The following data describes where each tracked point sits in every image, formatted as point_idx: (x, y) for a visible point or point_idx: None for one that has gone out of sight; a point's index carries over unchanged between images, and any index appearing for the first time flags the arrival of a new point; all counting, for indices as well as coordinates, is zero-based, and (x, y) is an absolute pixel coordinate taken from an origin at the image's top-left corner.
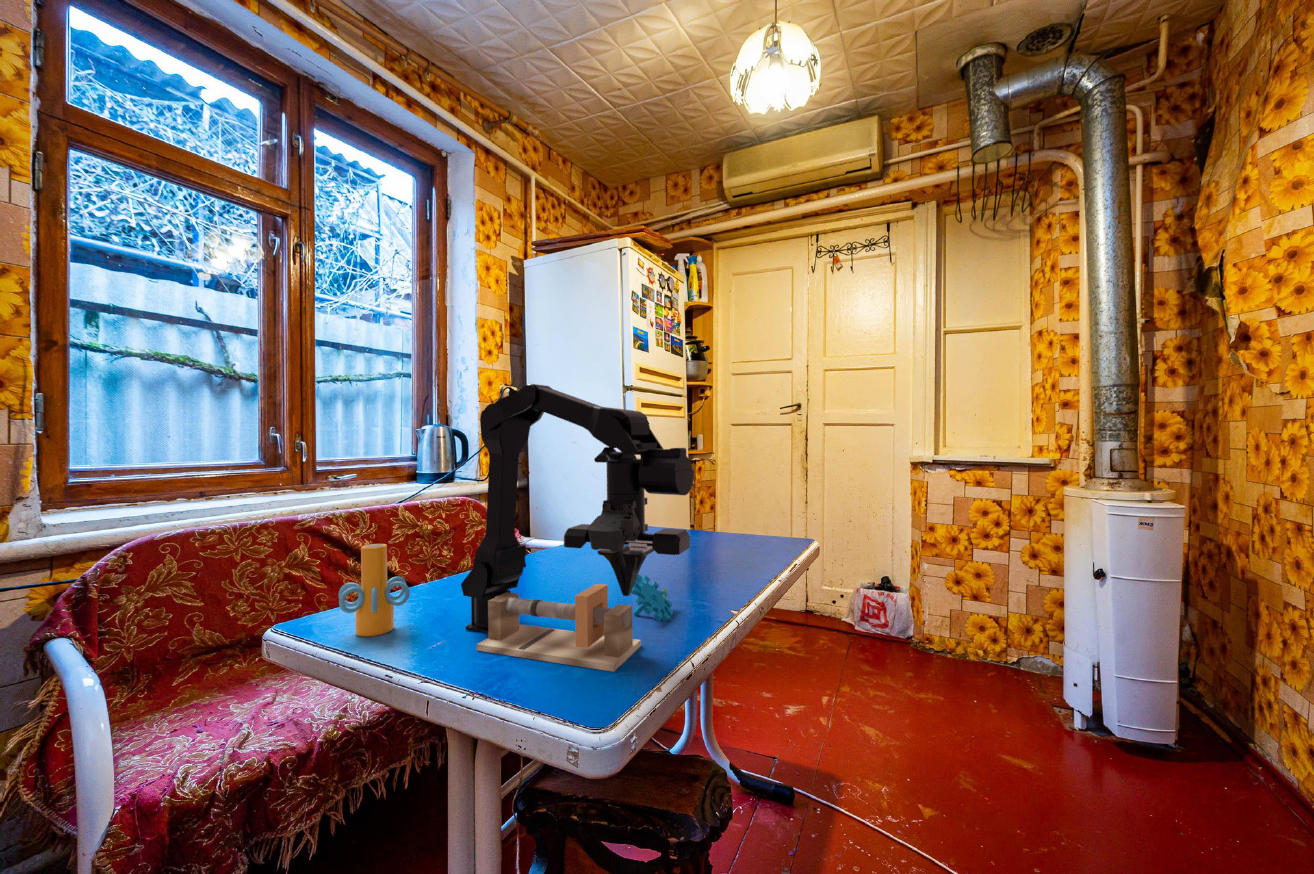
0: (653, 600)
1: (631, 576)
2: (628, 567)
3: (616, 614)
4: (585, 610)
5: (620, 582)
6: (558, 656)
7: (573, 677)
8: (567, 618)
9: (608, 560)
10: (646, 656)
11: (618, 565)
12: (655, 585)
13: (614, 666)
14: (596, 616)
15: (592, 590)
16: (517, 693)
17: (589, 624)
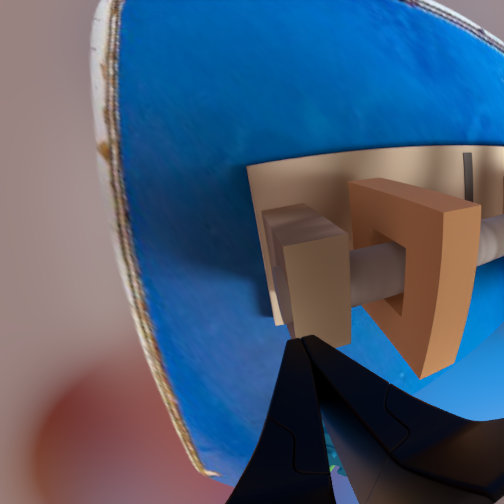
0: (326, 443)
1: (268, 417)
2: (296, 462)
3: (298, 252)
4: (413, 199)
5: (341, 366)
6: (395, 148)
7: (313, 98)
8: None
9: (485, 421)
10: (228, 280)
11: (393, 441)
12: (342, 470)
13: (247, 169)
14: (381, 248)
15: (451, 301)
16: (357, 10)
17: (379, 206)
